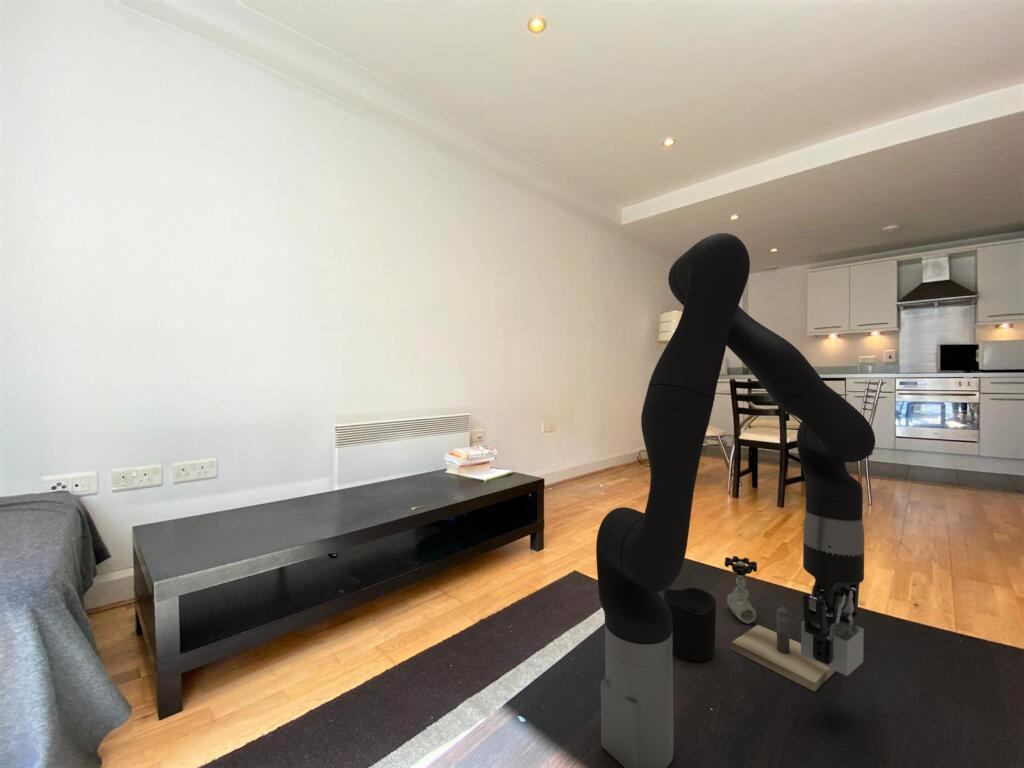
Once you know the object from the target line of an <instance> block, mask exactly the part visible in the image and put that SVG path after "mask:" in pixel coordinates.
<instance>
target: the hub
mask: <svg viewBox="0 0 1024 768" xmlns="http://www.w3.org/2000/svg"><path fill="white" fill-rule="evenodd" d="M826 616H829V617H831V616H832V615H831V614H830V615H829V614H827V613H826ZM826 623H827V621H826ZM800 624H801V625H800V627H801V628H800V643H801V655H803V656H805V657H807V658H809V659H812V660H814V661H816V662H818V663H820V664H822V665H824V666H827V667H829V668H831V669H833V670H835V672H837V673H840V674H842V675H844V676H845V677H847V676H849V675H850V674H851V673H852V672H854V670H856V669H857V668H858V667H859V666H861V664H862V663H863V662H864V642H865V641H864V638H865V637H864V630H865V629H864V628H863V627H860V626H858V625H856V624H853V623H852V624H850V623H848V622H845V621H843V620H840V621H839V624H838V625H835V626H834V630H833V635H832V636H833V637H832V662H831V663H830V664H828V665H827V664H824V663H822V662H820V661H818V660H816V659H815V658H814V657H813V635H811V634H809V633H807V632H805V624H804V620H802V621H801V623H800ZM818 627H819V624H818Z"/></svg>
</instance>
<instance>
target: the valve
mask: <svg viewBox="0 0 1024 768" xmlns="http://www.w3.org/2000/svg"><path fill="white" fill-rule="evenodd" d="M730 566H731V570H732V571H733V573H735V574H736V575H737V576H736V577H735V584H736V585H737V586H735V587H734V588H732V591H733V592H731V593H729V594H728V595H727V597H726V601H727V605H728V606H729V608H730V610H731V612H732V613H733V614H734V616H736V617H737V618H738V620H740V621H741V622H743V623H745V624H746V625H749V624H751V623H753V622H756V620H757V613H756V612H757V611H756V610H755V608H754V607H752V604H751V602H750V601H749V600H748V598H749V597H750V594H749V591H748V590H747V589H746V586H747V580H746V578H745V577H744V576H746V575H748V574H751V573H752V572H754V573H756V572H758V564H757V561H750V558H748V557H743V558H739V556H736V555H734V556H732V558H730V557H728V556H726V557H725V558H724V567H726V568H729V567H730Z"/></svg>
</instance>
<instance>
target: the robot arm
mask: <svg viewBox="0 0 1024 768" xmlns="http://www.w3.org/2000/svg"><path fill="white" fill-rule="evenodd" d="M749 254H750V253H749V252H748V249H747V247H746V245H745V244H744V243H743V241H742V240H741V239H740V238H739V237H738V236H736V235H734V234H731V233H728V232H720V233H719V232H717V233H713V234H711V235H708V236H706V237H705V238H703V239H700V240H699V241H698V242H696V243H694V245H693V246H691V247H690V248H689V249H687V251H686V252H684V253H683V254H682V255H681V256H680V257H678V259H676V261H674V262H673V264H672V266H671V267H670V269H669V271H668V286H669V289H670V291H671V293H672V295H673V297H675V299H676V301H678V302H679V303H680V304H681V305H682V306H683V308H682V313H681V317H680V319H679V321H678V323H677V326H676V327H675V330H674V332H673V334H672V335H671V337H670V340H669V341H668V342H667V344H666V346H665V348H664V350H663V351H662V352H661V355H660V357H659V359H658V361H657V363H656V365H655V367H654V369H653V372H652V374H651V376H650V380H649V382H648V387H647V391H646V394H645V398H644V402H643V406H642V411H641V415H640V416H641V417H640V425H641V426H640V427H641V432H642V433H641V434H642V439H643V442H644V446H645V449H646V450H645V451H646V455H647V459H648V464H649V471H650V483H649V491H648V497H647V501H646V505H645V508H644V512H643V511H639V510H637V509H634V508H630V507H625V506H624V507H623V506H620V507H616V508H614V509H611V511H609V512H608V513H607V514H606V515H605V516H604V517H603V519H602V521H601V523H600V525H599V528H598V531H597V535H596V544H595V547H596V548H595V549H596V551H595V553H596V554H595V555H596V557H595V559H596V560H595V561H596V573H597V574H596V575H597V590H598V598H599V602H600V605H601V608H602V610H603V612H604V613H603V614H604V643H605V644H604V651H605V653H604V656H605V657H604V660H605V661H604V662H605V663H604V664H605V667H604V668H605V672H604V673H605V677H604V678H603V679H601V681H600V725H601V726H600V730H601V731H600V737H601V738H600V739H601V740H600V741H601V747H602V748H603V749H604V750H605V751H606V752H607V753H608V754H609V755H610V756H612V757H613V758H614V759H615V760H616V761H617V762H618V763H619V764H621V765H622V766H623V768H668V767H669V766H670V764H671V763H672V761H673V758H674V679H673V678H674V672H673V671H674V669H673V663H674V662H673V661H674V660H673V653H672V652H673V644H672V614H671V611H670V608H669V606H668V605H667V603H666V602H665V601H664V597H662V596H661V595H660V593H661V592H664V591H665V590H666V589H670V587H671V586H672V585H673V584H674V583H675V581H677V578H678V577H679V575H680V572H681V570H682V568H683V565H684V561H685V557H686V552H687V547H688V540H689V535H690V534H689V533H690V525H691V519H692V518H691V517H692V515H691V514H692V508H693V500H694V494H695V493H694V492H695V487H696V481H697V476H698V471H699V467H700V461H701V456H702V451H703V447H704V442H705V439H706V435H707V432H708V431H707V430H708V428H709V425H710V420H711V415H712V412H713V408H714V404H715V403H714V402H715V398H716V393H717V392H716V391H717V386H718V383H719V382H718V381H719V377H720V375H721V374H720V373H721V372H722V371H721V370H722V366H723V362H724V358H725V354H726V349H727V348H728V349H729V350H730V351H732V352H733V354H734V355H735V356H736V357H737V358H738V359H739V360H740V362H742V364H744V365H745V366H746V367H747V369H748V370H749V371H750V373H751V374H753V376H754V377H755V378H756V380H757V381H758V382H759V384H760V385H761V386H762V387H763V389H764V390H765V392H766V393H767V394H768V395H769V396H770V397H771V399H772V400H773V401H774V403H775V404H776V405H777V406H778V407H779V408H780V409H781V410H782V411H783V412H785V413H786V414H788V415H791V416H793V417H796V418H797V419H799V420H800V421H801V422H800V424H799V425H798V429H797V431H796V433H797V434H796V447H797V448H796V449H797V452H798V458H799V461H800V466H801V470H802V474H803V476H804V479H805V484H806V486H805V516H804V520H803V537H802V539H803V542H802V543H803V545H802V546H803V549H802V552H803V553H802V566H803V569H804V570H805V571H806V572H807V573H808V574H809V575H811V576H812V577H813V578H814V579H815V581H814V584H813V585H812V589H811V594H810V593H806V592H805V593H804V594H803V596H802V602H803V603H802V604H803V621H804V624H805V632H807V633H809V634H811V635H813V657H814V658H815V659H816V660H818V661H820V662H822V663H824V664H827V665H828V664H830V663H831V662H832V637H833V636H832V635H833V630H834V626H835V625H838V624H839V621H840V620H843V621H845V622H848V623H850V624H853V623H854V619H856V618H857V617H858V613H859V612H858V611H859V610H858V609H859V596H860V595H859V593H860V592H859V591H860V584H861V583H862V582H863V581H864V580H865V529H864V524H863V522H864V521H863V512H864V511H863V504H864V503H863V496H864V495H863V487H862V485H861V483H860V481H858V480H857V479H856V478H854V477H853V476H852V475H851V474H850V473H849V472H848V471H847V466H846V463H857V462H861V461H864V460H865V459H867V458H868V457H869V456H870V455H872V453H873V451H874V449H875V446H876V437H875V436H876V435H875V432H874V430H873V427H872V425H871V424H870V422H869V420H868V419H867V418H866V417H865V416H864V414H862V413H861V412H860V411H859V410H858V409H857V408H855V406H853V405H852V404H851V403H850V402H849V401H848V400H846V399H845V398H844V397H843V396H841V395H840V394H839V393H838V392H836V391H835V390H834V389H832V388H831V387H830V386H828V385H827V384H826V383H825V381H824V380H823V378H822V377H821V375H820V374H819V373H818V372H817V371H816V369H815V368H814V367H813V366H812V364H811V363H810V362H809V361H808V360H807V358H806V357H805V355H803V354H802V352H801V351H800V350H799V349H798V348H797V347H796V346H794V345H793V344H792V343H791V342H789V340H787V339H785V338H784V337H782V336H780V335H779V334H777V333H776V332H774V331H773V330H771V329H769V328H768V327H766V326H764V325H763V324H761V323H760V322H759V321H757V320H755V319H754V318H753V317H752V316H750V315H749V314H748V313H747V312H746V311H745V310H744V309H743V308H742V307H741V306H740V303H741V300H742V297H743V294H744V292H745V288H746V286H747V282H748V280H749V277H750V268H751V259H750V255H749ZM827 613H828V614H830V616H831V617H829V616H826V614H827ZM826 621H827V623H826ZM818 624H819V627H818Z"/></svg>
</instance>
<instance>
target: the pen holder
mask: <svg viewBox="0 0 1024 768" xmlns="http://www.w3.org/2000/svg"><path fill="white" fill-rule="evenodd" d="M662 596H663V597H662V598H663V600H664V601H665V602H666V603H667V605H668V606H669V608H670V611H671V614H672V644H673V652H672V654H674V655H675V656H676V657H677V658H679V659H683V660H685V661H690V662H698V663H699V662H701V663H702V662H706V661H708V660H710V659H711V658H713V656H714V654H715V644H716V621H717V620H716V618H717V615H716V613H717V600H716V598H715V597H714V596H713V595H712V594H711V593H709V592H708V591H706V590H704V589H701V588H698V587H687V588H683V589H672V588H667V589H666V590H664V591H663V595H662Z"/></svg>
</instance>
